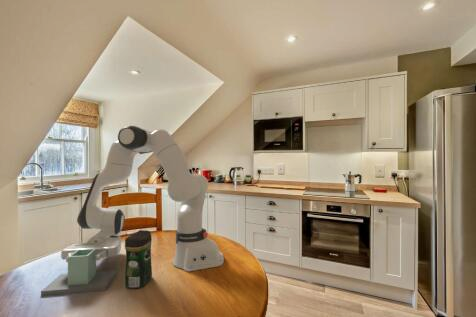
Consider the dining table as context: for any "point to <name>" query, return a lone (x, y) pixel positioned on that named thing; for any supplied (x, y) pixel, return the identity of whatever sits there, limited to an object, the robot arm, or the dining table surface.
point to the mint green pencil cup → (81, 266)
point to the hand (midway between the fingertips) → (82, 259)
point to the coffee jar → (138, 259)
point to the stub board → (96, 284)
